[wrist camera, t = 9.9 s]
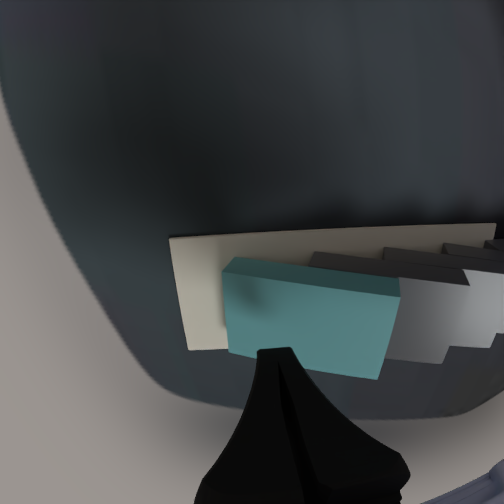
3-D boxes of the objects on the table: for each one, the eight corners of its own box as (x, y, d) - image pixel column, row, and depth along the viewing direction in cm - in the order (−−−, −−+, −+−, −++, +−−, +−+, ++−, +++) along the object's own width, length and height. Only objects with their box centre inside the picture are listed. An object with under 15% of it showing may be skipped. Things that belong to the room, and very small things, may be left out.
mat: (494, 223, 17) (496, 224, 16) (469, 313, 20) (470, 315, 20) (169, 238, 16) (169, 239, 16) (188, 347, 19) (188, 350, 19)
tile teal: (234, 256, 16) (398, 278, 14) (239, 334, 18) (378, 358, 16) (221, 271, 15) (400, 297, 12) (228, 352, 17) (377, 379, 14)
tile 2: (314, 251, 16) (463, 270, 14) (308, 328, 19) (438, 345, 16) (308, 265, 15) (470, 286, 12) (302, 345, 17) (441, 363, 15)
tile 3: (383, 246, 17) (508, 262, 14) (370, 321, 19) (483, 332, 16) (385, 259, 15) (517, 276, 13) (369, 337, 17) (489, 348, 15)
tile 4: (443, 242, 17) (543, 257, 14) (425, 312, 19) (520, 320, 16) (448, 254, 15) (553, 269, 13) (428, 326, 18) (526, 334, 15)
